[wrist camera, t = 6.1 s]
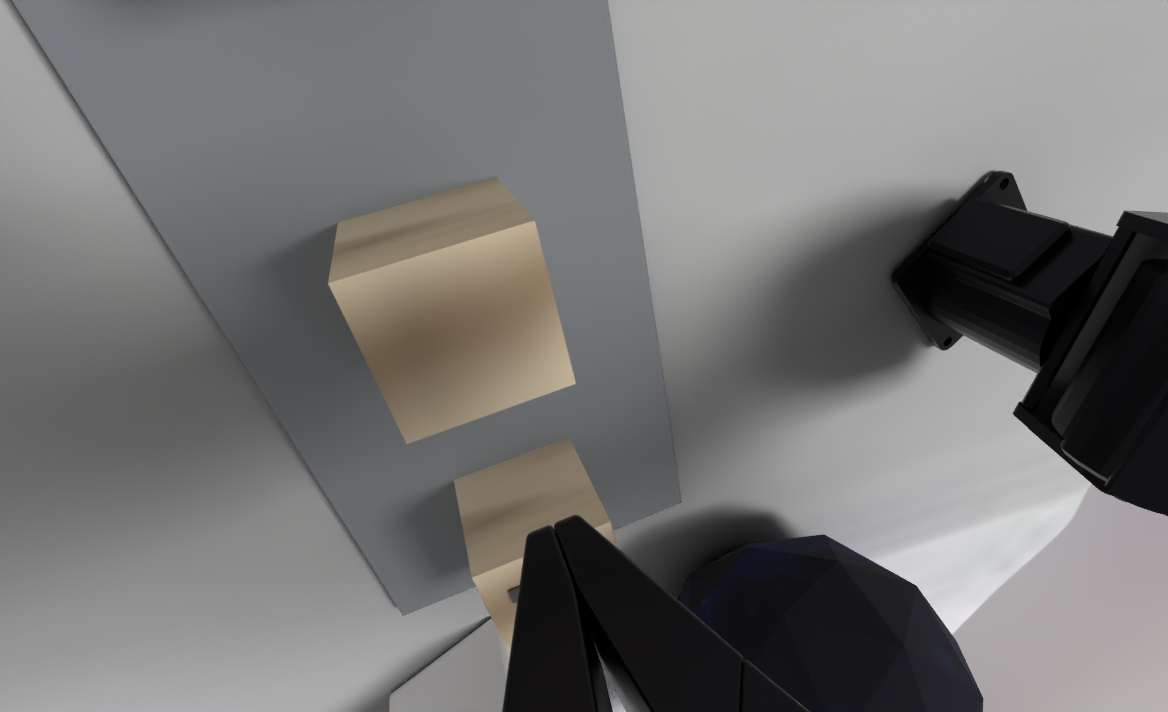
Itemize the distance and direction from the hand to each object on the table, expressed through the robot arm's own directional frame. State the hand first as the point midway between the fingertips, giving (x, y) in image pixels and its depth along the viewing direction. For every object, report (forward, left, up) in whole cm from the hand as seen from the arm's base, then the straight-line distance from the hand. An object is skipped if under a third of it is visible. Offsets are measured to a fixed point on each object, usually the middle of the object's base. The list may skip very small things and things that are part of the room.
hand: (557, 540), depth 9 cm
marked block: (-9, +7, -12) cm, 17 cm away
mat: (0, 0, -13) cm, 13 cm away
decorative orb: (-25, +5, -13) cm, 29 cm away
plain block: (0, 0, -12) cm, 12 cm away
